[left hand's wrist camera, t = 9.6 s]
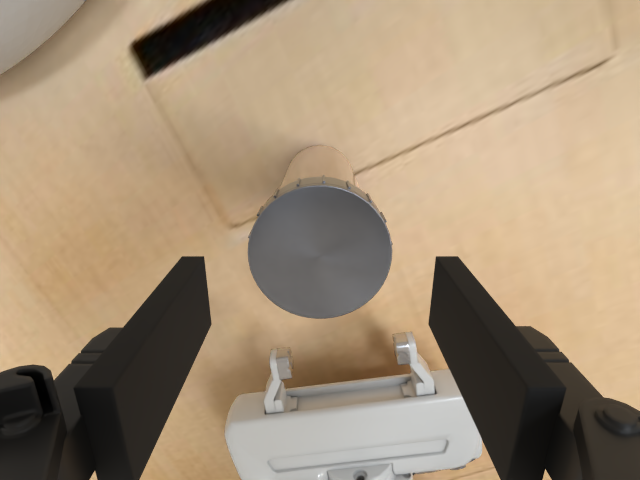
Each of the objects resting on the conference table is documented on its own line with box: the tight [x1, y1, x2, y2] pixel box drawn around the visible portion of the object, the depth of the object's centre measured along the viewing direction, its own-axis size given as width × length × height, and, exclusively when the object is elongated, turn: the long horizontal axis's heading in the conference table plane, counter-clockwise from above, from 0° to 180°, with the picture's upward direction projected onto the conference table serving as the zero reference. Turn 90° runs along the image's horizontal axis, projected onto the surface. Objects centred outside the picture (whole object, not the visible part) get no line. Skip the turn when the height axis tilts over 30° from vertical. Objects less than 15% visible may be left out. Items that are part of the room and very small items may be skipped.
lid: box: [248, 175, 392, 319], centre depth 18 cm, size 6×6×2 cm
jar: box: [279, 145, 361, 190], centre depth 25 cm, size 5×5×16 cm
